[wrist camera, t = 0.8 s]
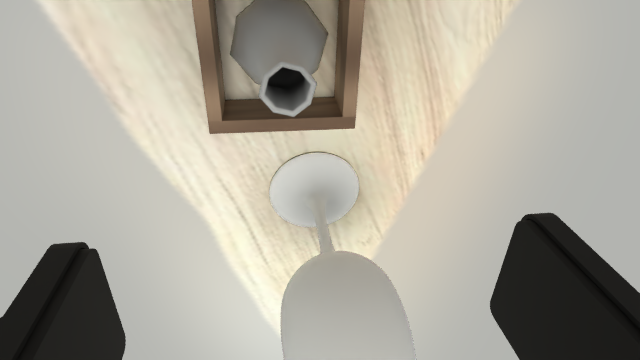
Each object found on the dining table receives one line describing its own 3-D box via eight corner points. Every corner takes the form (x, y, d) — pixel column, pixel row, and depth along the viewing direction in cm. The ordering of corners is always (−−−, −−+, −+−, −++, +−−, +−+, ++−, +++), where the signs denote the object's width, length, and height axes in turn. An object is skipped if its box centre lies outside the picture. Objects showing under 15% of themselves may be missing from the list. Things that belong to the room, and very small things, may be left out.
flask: (343, 28, 32) (375, 71, 23) (292, 103, 34) (305, 165, 26) (262, -30, 29) (265, -6, 20) (213, 57, 32) (199, 109, 23)
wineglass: (271, 228, 41) (283, 459, 24) (267, 153, 37) (278, 373, 19) (355, 223, 42) (425, 440, 25) (362, 149, 38) (454, 354, 20)
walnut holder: (195, -39, 28) (187, -32, 24) (354, -37, 29) (367, -30, 26) (214, 111, 34) (209, 133, 31) (345, 107, 35) (354, 128, 32)
